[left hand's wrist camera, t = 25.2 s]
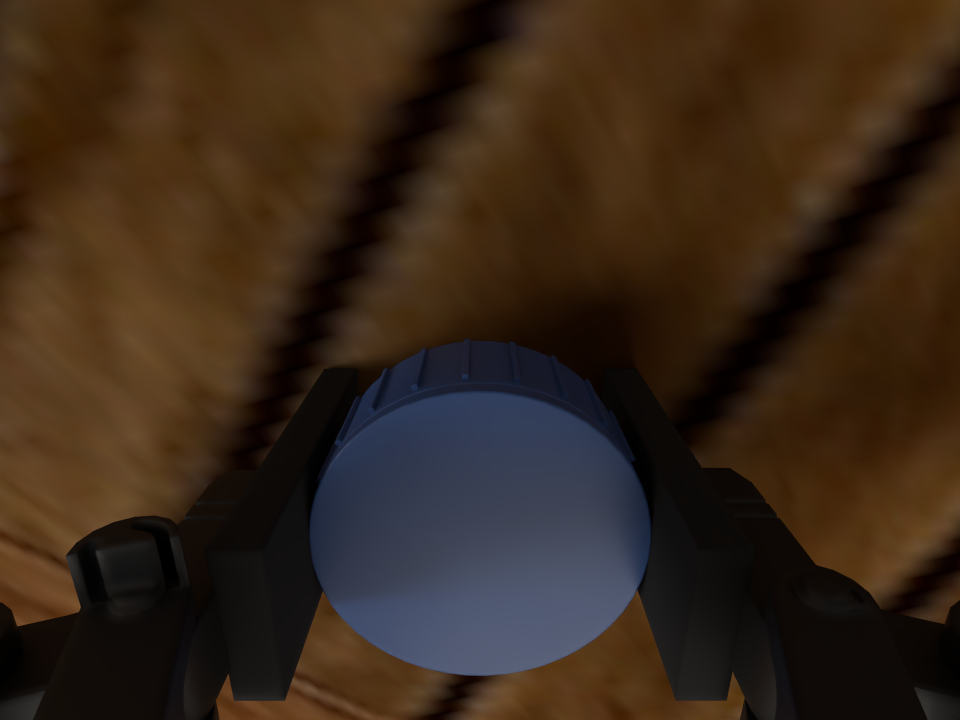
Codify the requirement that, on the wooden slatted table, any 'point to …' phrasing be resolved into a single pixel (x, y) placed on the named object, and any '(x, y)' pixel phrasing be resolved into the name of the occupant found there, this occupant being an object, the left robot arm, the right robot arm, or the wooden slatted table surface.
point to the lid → (480, 512)
